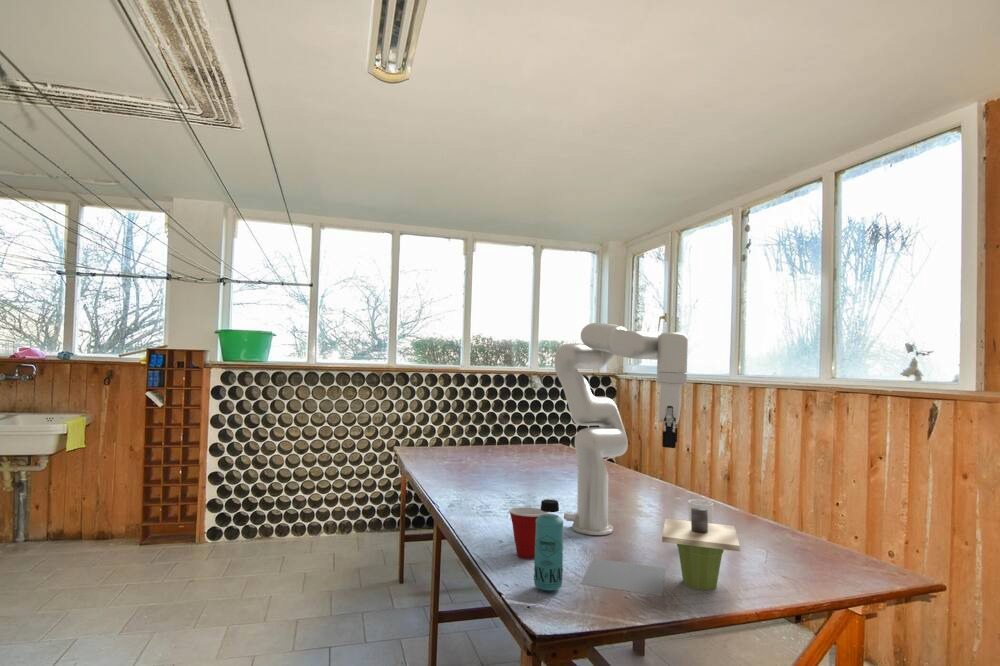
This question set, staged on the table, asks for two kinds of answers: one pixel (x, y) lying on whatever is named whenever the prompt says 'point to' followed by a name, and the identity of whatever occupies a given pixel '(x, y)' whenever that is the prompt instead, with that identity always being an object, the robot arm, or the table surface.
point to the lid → (700, 532)
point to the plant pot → (700, 566)
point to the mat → (625, 577)
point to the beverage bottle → (548, 548)
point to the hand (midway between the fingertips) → (669, 444)
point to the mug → (701, 504)
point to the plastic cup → (525, 530)
